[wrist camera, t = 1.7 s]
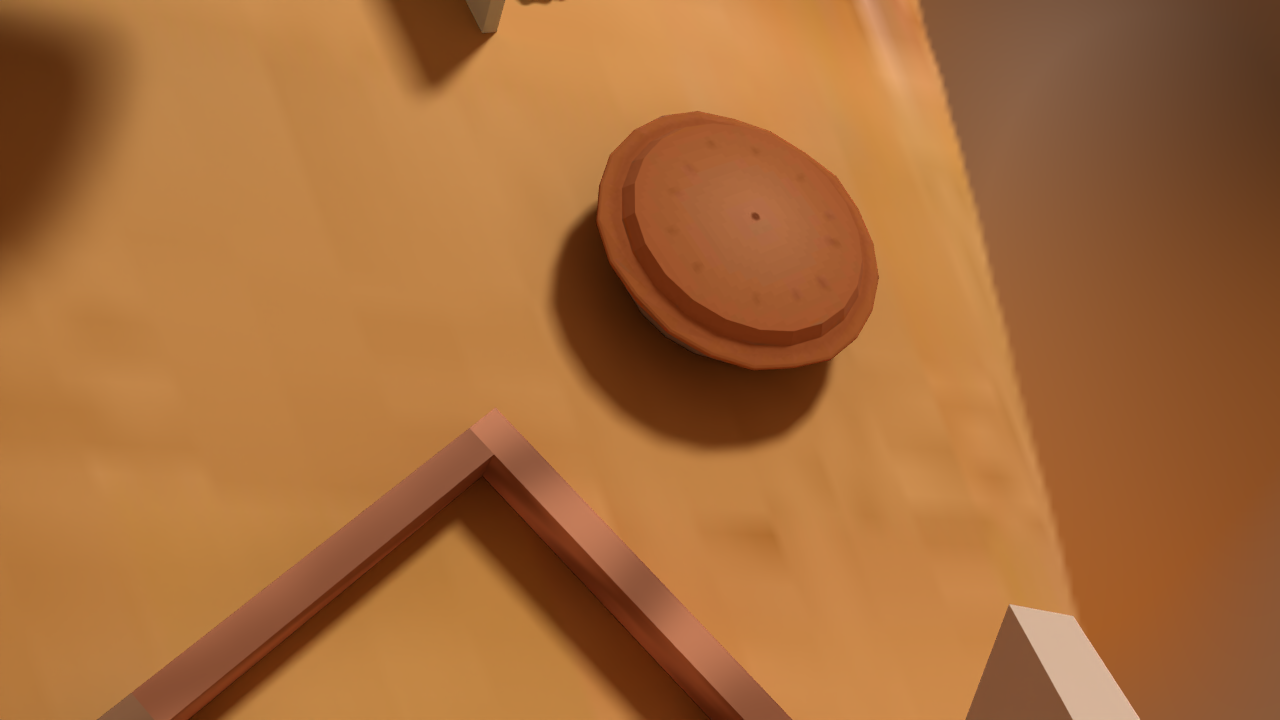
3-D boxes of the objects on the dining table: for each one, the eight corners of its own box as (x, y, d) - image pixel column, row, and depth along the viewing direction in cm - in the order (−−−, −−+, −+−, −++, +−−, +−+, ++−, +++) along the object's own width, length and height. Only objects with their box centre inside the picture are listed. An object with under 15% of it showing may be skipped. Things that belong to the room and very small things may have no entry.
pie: (842, 434, 49) (895, 393, 45) (554, 352, 46) (583, 299, 41) (846, 205, 57) (891, 152, 53) (600, 120, 54) (629, 56, 49)
